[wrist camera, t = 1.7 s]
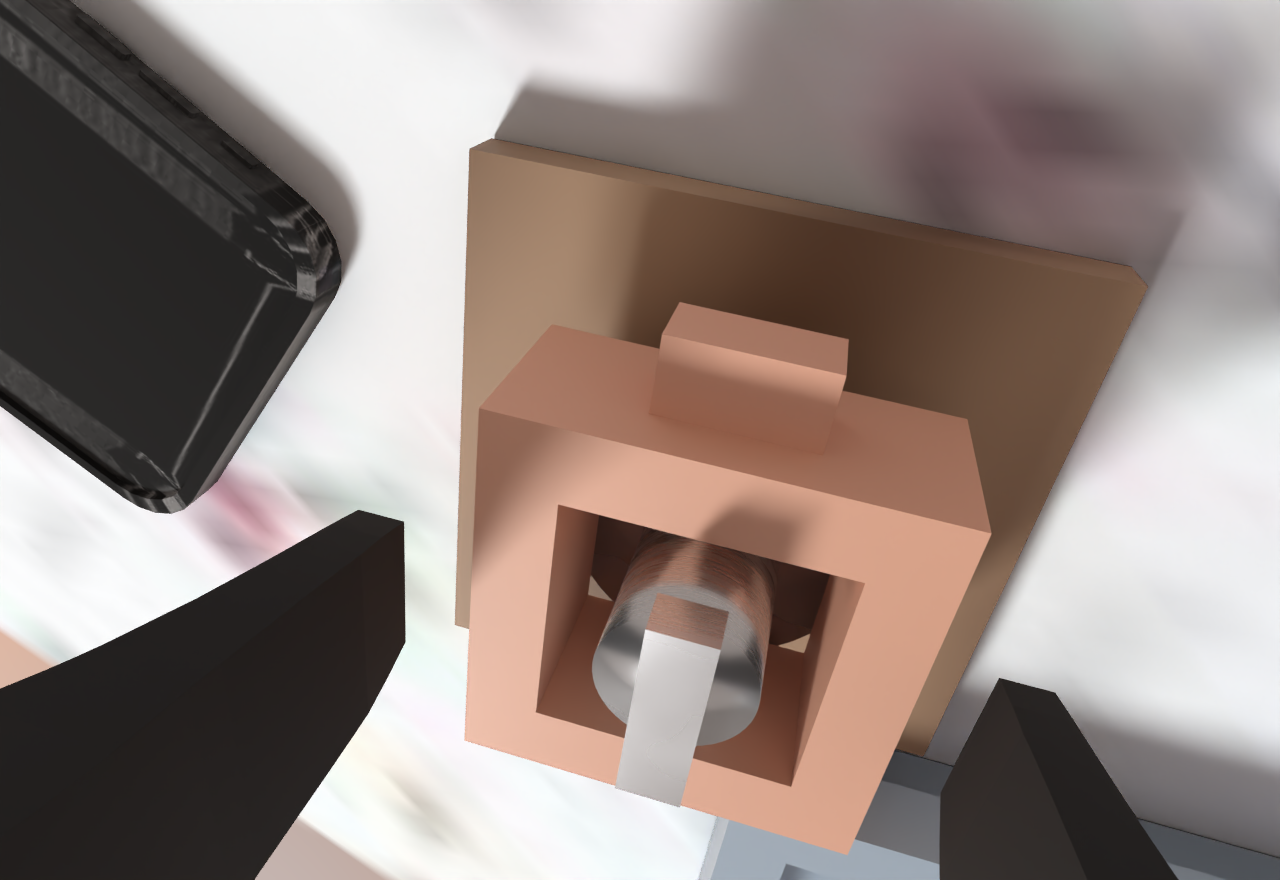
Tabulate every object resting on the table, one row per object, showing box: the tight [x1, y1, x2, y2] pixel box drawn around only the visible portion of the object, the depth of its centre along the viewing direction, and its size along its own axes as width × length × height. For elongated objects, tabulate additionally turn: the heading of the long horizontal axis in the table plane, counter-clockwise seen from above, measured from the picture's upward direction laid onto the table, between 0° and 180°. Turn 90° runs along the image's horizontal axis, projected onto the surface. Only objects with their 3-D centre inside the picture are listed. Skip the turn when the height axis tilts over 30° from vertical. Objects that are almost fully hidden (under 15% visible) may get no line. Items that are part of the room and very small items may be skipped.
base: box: [455, 138, 1148, 756], centre depth 14 cm, size 9×9×1 cm
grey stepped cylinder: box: [591, 515, 830, 807], centre depth 11 cm, size 4×4×5 cm
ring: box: [465, 302, 992, 855], centre depth 11 cm, size 6×6×2 cm
